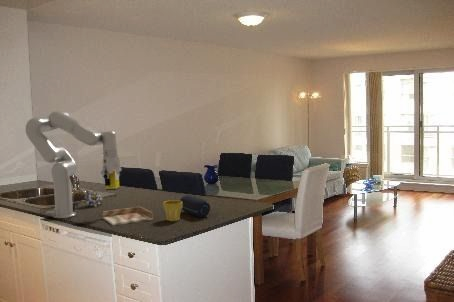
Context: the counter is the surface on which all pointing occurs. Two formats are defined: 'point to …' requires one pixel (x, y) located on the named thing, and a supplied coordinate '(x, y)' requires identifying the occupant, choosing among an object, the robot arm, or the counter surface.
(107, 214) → the arena
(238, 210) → the counter surface
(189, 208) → the portable speaker
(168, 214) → the plant pot
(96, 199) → the passion flower
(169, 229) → the counter surface
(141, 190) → the counter surface
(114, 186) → the supplement box
